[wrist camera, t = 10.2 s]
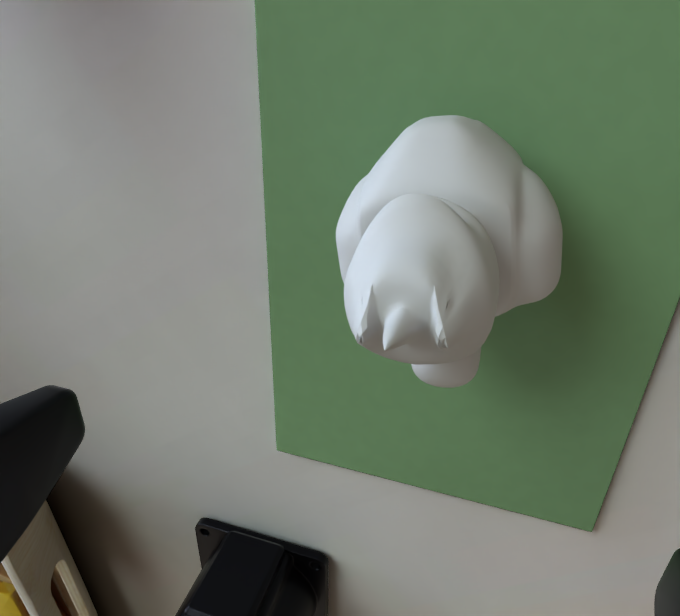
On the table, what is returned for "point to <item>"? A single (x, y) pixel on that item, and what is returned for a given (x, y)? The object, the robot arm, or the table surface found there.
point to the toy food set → (42, 574)
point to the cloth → (521, 321)
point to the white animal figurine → (445, 246)
